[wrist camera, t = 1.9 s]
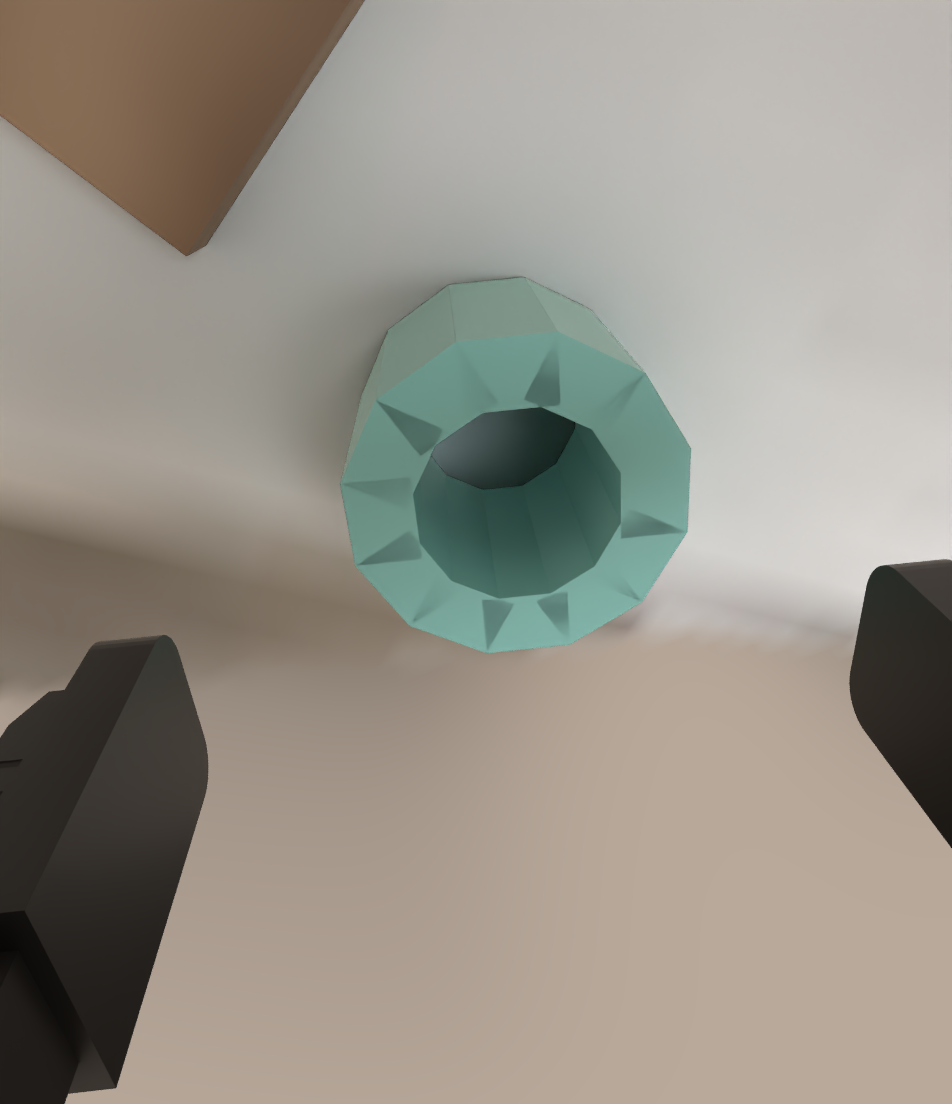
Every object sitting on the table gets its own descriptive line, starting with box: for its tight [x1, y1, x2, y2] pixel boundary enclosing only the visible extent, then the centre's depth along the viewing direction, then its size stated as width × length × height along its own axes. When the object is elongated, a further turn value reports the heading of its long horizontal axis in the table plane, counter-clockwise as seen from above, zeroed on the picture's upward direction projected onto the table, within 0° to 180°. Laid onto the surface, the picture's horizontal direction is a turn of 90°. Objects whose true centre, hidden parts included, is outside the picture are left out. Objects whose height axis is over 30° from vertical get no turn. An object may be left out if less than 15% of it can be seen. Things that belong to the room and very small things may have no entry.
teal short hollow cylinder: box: [340, 277, 691, 653], centre depth 16 cm, size 6×6×5 cm
